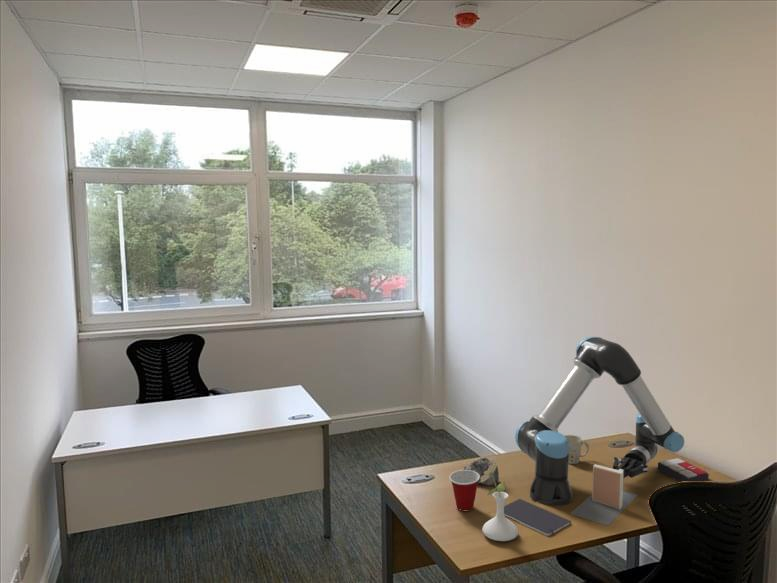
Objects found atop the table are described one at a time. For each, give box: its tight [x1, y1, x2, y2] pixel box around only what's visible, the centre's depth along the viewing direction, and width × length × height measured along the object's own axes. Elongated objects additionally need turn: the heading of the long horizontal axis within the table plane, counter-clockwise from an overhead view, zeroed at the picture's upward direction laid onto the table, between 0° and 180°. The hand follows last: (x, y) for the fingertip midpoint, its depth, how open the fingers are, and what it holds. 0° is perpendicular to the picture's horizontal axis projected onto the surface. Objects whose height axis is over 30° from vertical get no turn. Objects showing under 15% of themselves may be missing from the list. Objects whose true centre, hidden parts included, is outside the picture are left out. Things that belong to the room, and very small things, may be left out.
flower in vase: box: [480, 461, 519, 542], centre depth 188 cm, size 13×11×25 cm
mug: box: [564, 434, 590, 465], centre depth 248 cm, size 8×13×10 cm, turn 107°
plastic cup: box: [448, 469, 480, 511], centre depth 207 cm, size 11×11×12 cm
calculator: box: [657, 457, 710, 482], centre depth 233 cm, size 11×4×15 cm
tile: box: [591, 463, 624, 509], centre depth 208 cm, size 10×2×13 cm, turn 49°
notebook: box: [504, 498, 572, 537], centre depth 200 cm, size 13×2×21 cm
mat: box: [570, 490, 638, 527], centre depth 209 cm, size 13×29×1 cm, turn 139°
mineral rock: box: [463, 457, 500, 486], centre depth 229 cm, size 13×11×10 cm
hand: (615, 478), depth 213 cm, fingers closed
